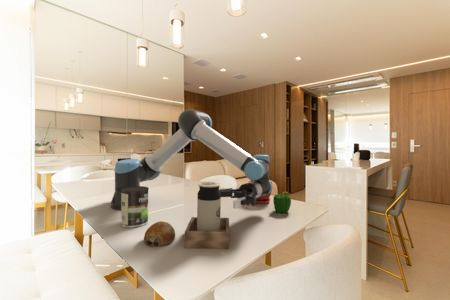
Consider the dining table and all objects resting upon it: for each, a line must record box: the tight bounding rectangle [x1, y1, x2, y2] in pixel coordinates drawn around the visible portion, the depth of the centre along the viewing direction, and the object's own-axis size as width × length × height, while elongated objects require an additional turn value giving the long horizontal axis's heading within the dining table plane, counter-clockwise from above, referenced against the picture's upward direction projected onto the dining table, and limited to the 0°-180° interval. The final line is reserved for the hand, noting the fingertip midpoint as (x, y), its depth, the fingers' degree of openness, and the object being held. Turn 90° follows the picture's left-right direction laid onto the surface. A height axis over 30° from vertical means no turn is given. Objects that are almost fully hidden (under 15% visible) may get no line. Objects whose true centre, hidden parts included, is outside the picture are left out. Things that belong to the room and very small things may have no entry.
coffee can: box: [120, 185, 149, 229], centre depth 89 cm, size 10×10×14 cm
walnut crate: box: [183, 216, 230, 250], centre depth 76 cm, size 14×14×5 cm
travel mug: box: [196, 181, 222, 232], centre depth 76 cm, size 8×8×18 cm
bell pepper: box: [272, 191, 292, 214], centre depth 107 cm, size 8×8×10 cm
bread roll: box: [143, 220, 176, 248], centre depth 74 cm, size 10×10×8 cm
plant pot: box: [248, 179, 273, 205], centre depth 124 cm, size 13×13×12 cm
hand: (218, 201), depth 79 cm, fingers open, 13 cm apart
